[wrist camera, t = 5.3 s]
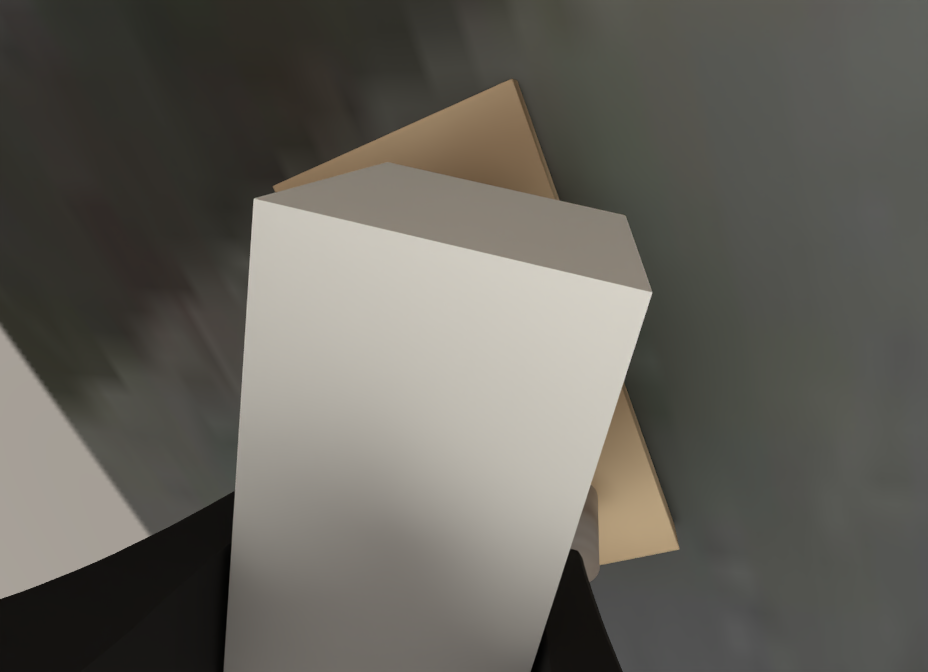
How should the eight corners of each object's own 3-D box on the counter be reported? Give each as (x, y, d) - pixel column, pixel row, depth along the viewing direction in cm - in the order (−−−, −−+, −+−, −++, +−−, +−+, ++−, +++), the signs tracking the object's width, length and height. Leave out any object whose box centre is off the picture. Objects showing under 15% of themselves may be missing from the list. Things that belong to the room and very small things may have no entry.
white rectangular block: (477, 724, 14) (433, 974, 10) (315, 672, 15) (209, 892, 11) (625, 215, 10) (652, 292, 6) (387, 161, 10) (252, 197, 6)
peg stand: (291, 181, 18) (210, 201, 14) (517, 80, 16) (494, 72, 12) (471, 567, 22) (445, 667, 18) (674, 524, 20) (695, 626, 16)
